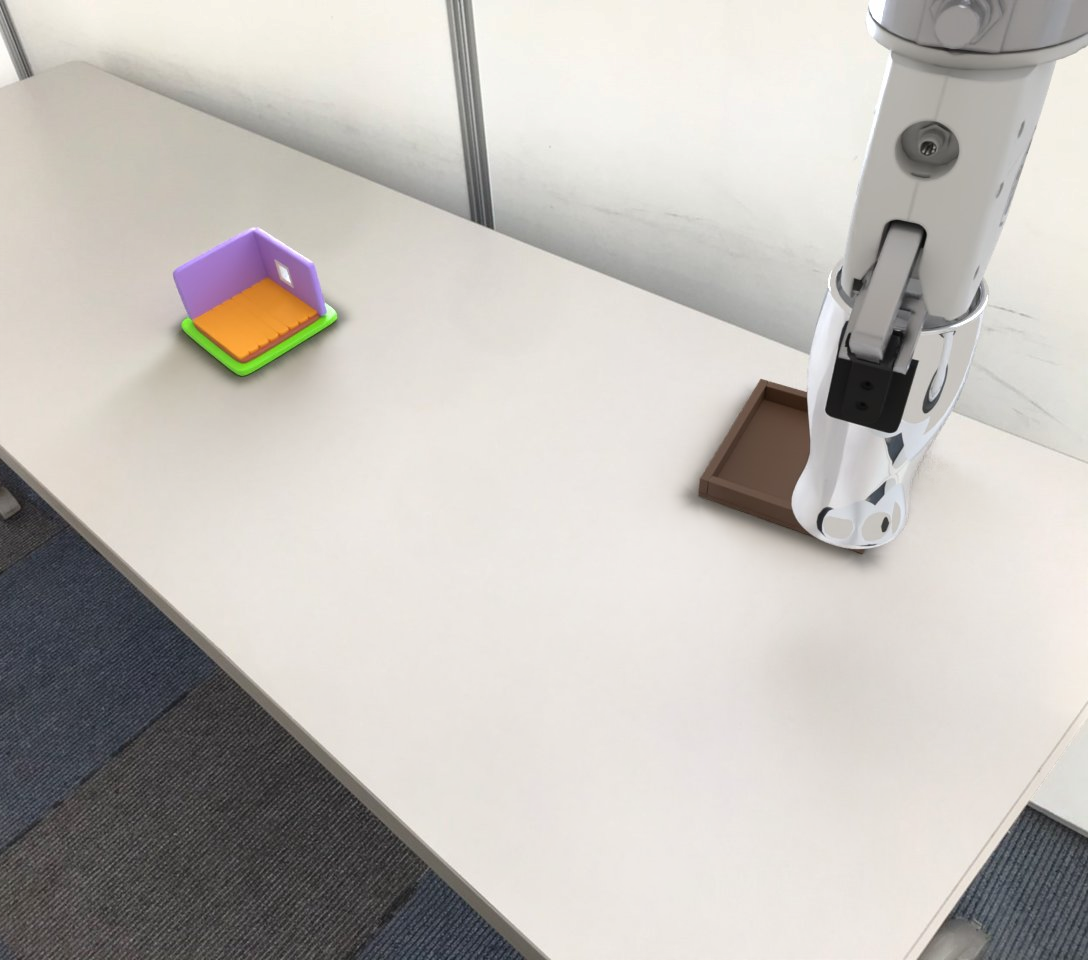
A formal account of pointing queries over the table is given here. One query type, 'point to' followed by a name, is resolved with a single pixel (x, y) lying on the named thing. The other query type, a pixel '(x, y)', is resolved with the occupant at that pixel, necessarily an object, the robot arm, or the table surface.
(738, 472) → the tray
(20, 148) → the table surface
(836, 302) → the beer glass
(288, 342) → the dollhouse room
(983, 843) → the table surface
